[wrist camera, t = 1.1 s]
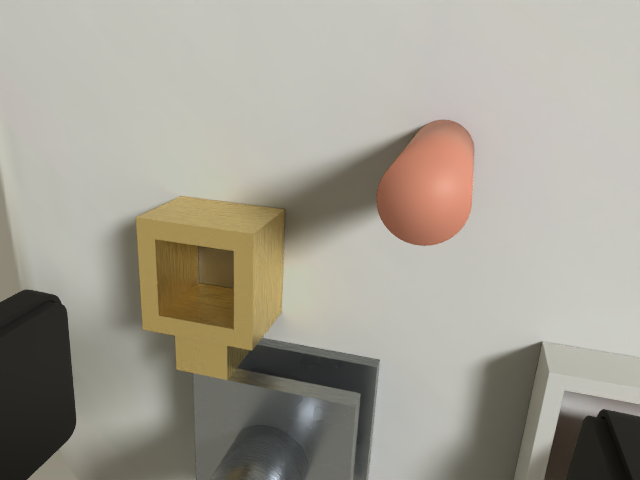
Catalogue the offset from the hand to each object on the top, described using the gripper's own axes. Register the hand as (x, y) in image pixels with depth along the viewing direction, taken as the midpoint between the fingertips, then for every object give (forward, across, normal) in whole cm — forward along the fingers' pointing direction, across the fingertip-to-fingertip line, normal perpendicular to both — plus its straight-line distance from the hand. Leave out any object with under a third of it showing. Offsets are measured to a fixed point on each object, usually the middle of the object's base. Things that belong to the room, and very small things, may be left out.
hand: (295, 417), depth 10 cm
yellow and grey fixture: (+20, +6, +12) cm, 24 cm away
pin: (+20, -1, -2) cm, 20 cm away
